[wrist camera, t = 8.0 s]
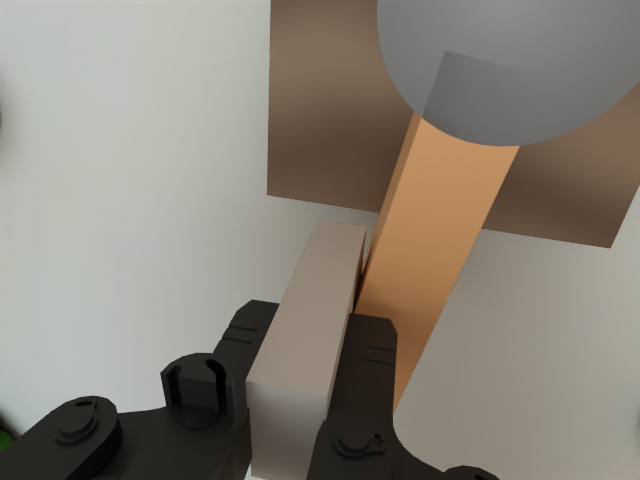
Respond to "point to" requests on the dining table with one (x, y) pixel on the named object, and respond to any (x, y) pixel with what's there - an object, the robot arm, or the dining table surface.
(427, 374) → the dining table surface
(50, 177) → the dining table surface
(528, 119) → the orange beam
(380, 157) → the base
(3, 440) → the bell pepper
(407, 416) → the dining table surface
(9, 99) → the dining table surface
